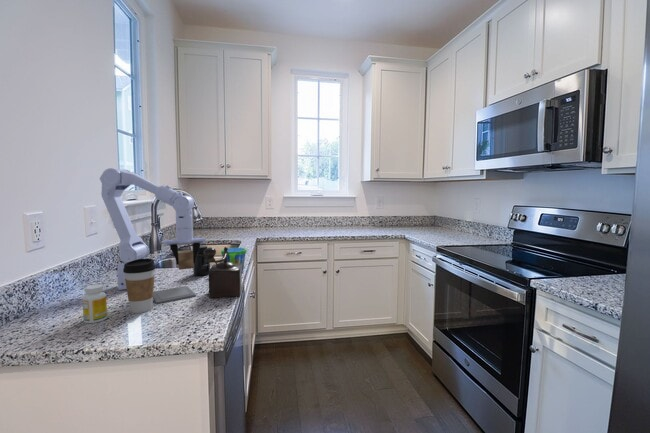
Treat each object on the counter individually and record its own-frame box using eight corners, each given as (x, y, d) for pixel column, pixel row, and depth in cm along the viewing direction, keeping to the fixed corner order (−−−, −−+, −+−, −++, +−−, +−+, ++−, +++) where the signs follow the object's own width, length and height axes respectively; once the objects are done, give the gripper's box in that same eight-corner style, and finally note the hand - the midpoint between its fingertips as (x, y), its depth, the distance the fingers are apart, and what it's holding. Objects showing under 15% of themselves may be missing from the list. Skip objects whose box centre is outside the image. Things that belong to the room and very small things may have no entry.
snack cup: (226, 268, 147) (226, 246, 146) (249, 267, 147) (249, 246, 146) (217, 277, 131) (216, 253, 130) (243, 277, 132) (242, 253, 131)
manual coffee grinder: (211, 289, 116) (210, 240, 114) (242, 287, 118) (241, 240, 116) (203, 304, 101) (201, 249, 99) (239, 302, 103) (238, 248, 101)
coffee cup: (163, 306, 99) (161, 259, 98) (139, 316, 91) (137, 265, 90) (143, 303, 102) (140, 257, 101) (118, 312, 94) (115, 263, 93)
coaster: (156, 303, 101) (156, 301, 101) (150, 293, 111) (150, 291, 111) (195, 296, 109) (195, 294, 108) (186, 287, 118) (186, 285, 118)
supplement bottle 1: (80, 324, 86) (77, 290, 85) (89, 317, 91) (87, 284, 90) (102, 322, 87) (100, 288, 86) (110, 315, 92) (108, 283, 91)
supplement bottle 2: (206, 276, 133) (205, 248, 132) (190, 276, 133) (189, 248, 132) (212, 272, 140) (212, 245, 139) (197, 271, 140) (196, 245, 139)
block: (179, 269, 117) (178, 253, 116) (178, 266, 121) (177, 251, 121) (193, 268, 119) (193, 252, 119) (192, 265, 124) (191, 250, 123)
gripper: (162, 230, 112) (164, 267, 113) (206, 228, 119) (207, 263, 120) (162, 227, 118) (164, 263, 119) (204, 225, 125) (205, 259, 126)
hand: (185, 263), depth 120 cm, fingers closed on block, 5 cm apart
